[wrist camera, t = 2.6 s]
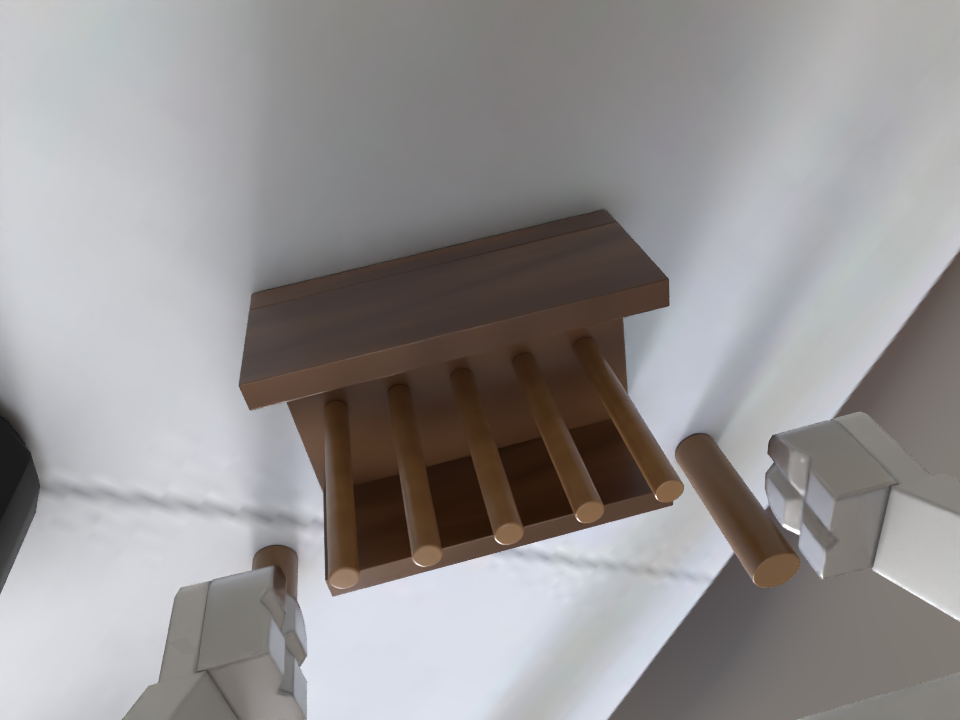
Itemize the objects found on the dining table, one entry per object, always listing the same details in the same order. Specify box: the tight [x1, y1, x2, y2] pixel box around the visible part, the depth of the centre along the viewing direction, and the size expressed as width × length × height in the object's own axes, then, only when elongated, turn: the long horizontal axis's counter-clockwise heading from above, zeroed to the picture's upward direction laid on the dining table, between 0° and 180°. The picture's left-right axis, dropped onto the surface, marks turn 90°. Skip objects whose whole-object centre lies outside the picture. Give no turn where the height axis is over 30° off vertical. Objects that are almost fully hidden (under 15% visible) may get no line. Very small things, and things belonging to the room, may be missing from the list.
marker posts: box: [252, 434, 800, 600], centre depth 37 cm, size 2×27×9 cm, turn 99°
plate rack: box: [239, 210, 684, 596], centre depth 31 cm, size 12×16×12 cm
